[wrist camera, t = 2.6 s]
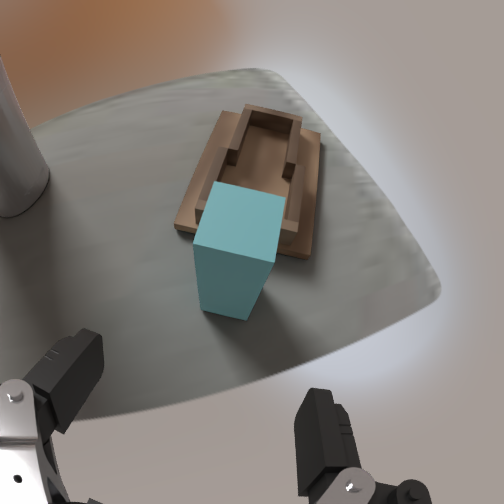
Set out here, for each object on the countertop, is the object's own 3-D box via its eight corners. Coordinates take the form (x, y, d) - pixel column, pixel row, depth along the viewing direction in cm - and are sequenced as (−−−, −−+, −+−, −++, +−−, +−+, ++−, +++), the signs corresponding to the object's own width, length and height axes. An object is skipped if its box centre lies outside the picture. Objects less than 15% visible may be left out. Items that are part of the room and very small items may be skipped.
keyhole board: (174, 228, 28) (171, 208, 25) (222, 116, 36) (223, 95, 33) (307, 259, 28) (318, 242, 25) (318, 138, 36) (326, 119, 33)
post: (200, 309, 25) (192, 243, 14) (212, 267, 27) (214, 181, 16) (246, 320, 25) (274, 262, 14) (255, 278, 27) (285, 197, 16)
